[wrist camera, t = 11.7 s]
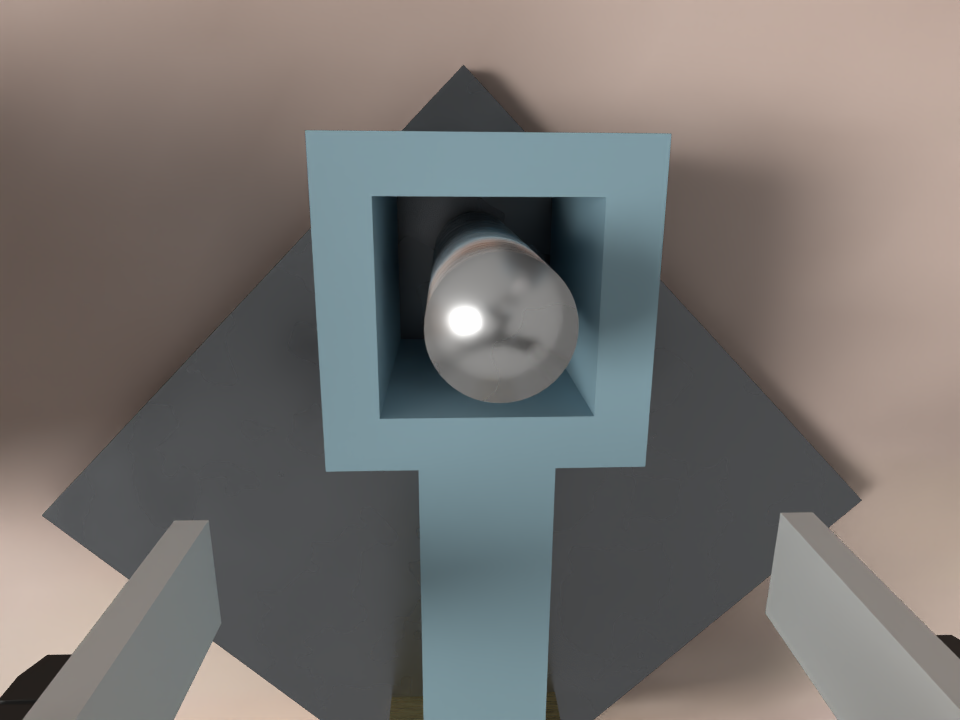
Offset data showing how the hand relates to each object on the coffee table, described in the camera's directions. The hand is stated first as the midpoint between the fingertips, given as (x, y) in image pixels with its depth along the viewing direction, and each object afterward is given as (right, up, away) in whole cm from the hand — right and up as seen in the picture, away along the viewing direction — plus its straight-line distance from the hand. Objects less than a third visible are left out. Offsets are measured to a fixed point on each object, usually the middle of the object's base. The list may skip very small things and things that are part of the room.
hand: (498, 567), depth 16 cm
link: (-1, +2, +7) cm, 7 cm away
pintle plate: (-1, 0, +8) cm, 8 cm away
